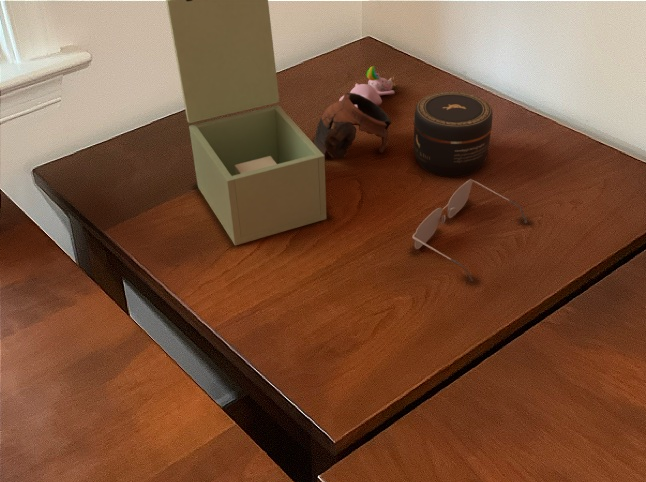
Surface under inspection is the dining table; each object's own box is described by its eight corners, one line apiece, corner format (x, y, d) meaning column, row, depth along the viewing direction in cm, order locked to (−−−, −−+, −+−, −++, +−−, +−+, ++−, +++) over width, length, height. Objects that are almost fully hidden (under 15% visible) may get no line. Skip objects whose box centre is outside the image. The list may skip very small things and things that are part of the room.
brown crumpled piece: (317, 130, 115) (346, 81, 112) (374, 167, 115) (404, 119, 112) (292, 153, 105) (323, 100, 101) (354, 194, 105) (387, 141, 101)
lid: (266, -17, 93) (251, -26, 97) (167, 0, 89) (155, -9, 93) (279, 102, 101) (265, 90, 105) (189, 123, 97) (177, 110, 101)
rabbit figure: (366, 91, 127) (324, 119, 115) (369, 52, 124) (326, 78, 112) (404, 98, 125) (365, 128, 113) (407, 59, 122) (368, 86, 110)
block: (251, 216, 97) (248, 183, 94) (238, 197, 100) (234, 164, 97) (287, 206, 99) (285, 174, 96) (272, 187, 102) (270, 155, 99)
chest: (326, 219, 98) (324, 155, 92) (235, 245, 94) (227, 181, 88) (282, 165, 107) (278, 104, 102) (197, 187, 103) (188, 125, 98)
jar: (398, 150, 110) (400, 99, 105) (462, 134, 113) (467, 83, 109) (435, 187, 103) (439, 134, 98) (502, 169, 106) (509, 116, 101)
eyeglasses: (469, 199, 101) (474, 173, 98) (527, 226, 98) (534, 199, 95) (408, 257, 92) (412, 229, 89) (470, 288, 89) (476, 260, 86)
